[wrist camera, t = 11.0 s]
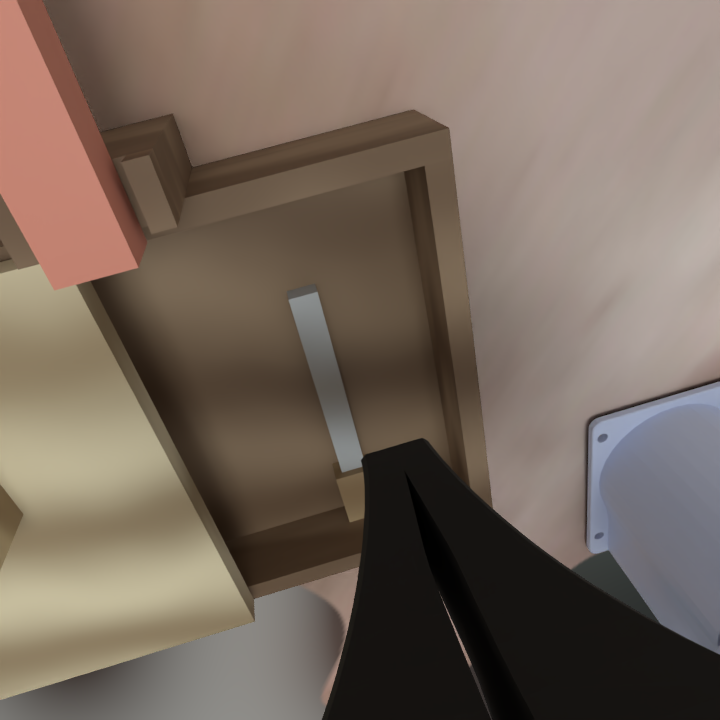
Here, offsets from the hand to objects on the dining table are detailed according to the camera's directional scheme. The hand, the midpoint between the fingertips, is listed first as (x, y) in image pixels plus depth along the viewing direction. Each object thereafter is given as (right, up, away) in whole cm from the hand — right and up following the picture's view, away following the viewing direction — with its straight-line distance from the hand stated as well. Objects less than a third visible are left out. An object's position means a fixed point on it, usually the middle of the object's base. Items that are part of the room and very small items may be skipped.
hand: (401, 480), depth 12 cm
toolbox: (-6, +1, +10) cm, 12 cm away
